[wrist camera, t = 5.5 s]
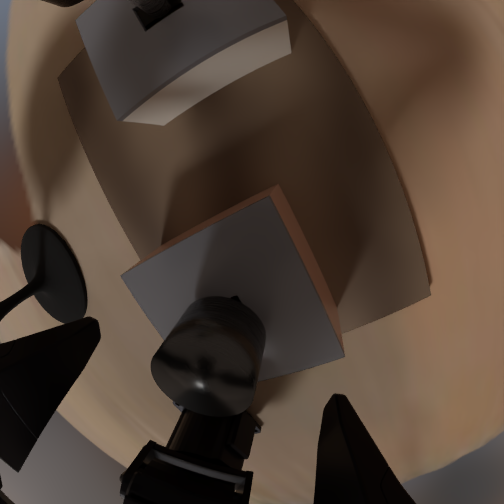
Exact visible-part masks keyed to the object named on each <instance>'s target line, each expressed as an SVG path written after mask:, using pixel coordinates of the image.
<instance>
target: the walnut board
mask: <svg viewBox="0 0 504 504" xmlns="http://www.w3.org/2000/svg"><path fill="white" fill-rule="evenodd" d="M274 1H275V3H276V4H277V5H278V6H279V7H280V8H281V10H282V11H283V12H284V13H285V15H286V16H287V23H288V30H289V38H290V45H291V54H288V55H286V56H284V57H281V58H279V59H277V60H275V61H273V62H271V63H268V64H266V65H264V66H262V67H260V68H258V69H256V70H254V71H252V72H250V73H248V74H246V75H245V76H243V77H241V78H239V79H237V80H235V81H233V82H232V83H230V84H228V85H226V86H225V87H223V88H221V89H219V90H218V91H216V92H214V93H213V94H211V95H209V96H208V97H206V98H204V99H203V100H201V101H200V102H198V103H196V104H195V105H193V106H192V107H190V108H189V109H187V110H186V111H184V112H183V113H181V114H180V115H178V116H177V117H175V118H174V119H173V120H171V121H170V122H168V123H167V124H166V125H164V126H162V125H155V124H146V123H137V122H126V121H117V120H116V118H115V116H114V113H113V111H112V109H111V107H110V105H109V102H108V100H107V98H106V96H105V94H104V91H103V89H102V87H101V84H100V82H99V80H98V77H97V75H96V73H95V70H94V68H93V65H92V63H91V60H90V58H89V55H88V53H87V50H86V48H84V49H83V50H82V51H81V52H80V53H79V54H78V55H77V56H76V57H75V58H74V60H73V61H72V62H71V63H70V64H69V65H68V66H67V67H66V69H65V70H64V71H63V72H62V73H61V74H60V76H59V77H58V81H59V84H60V87H61V90H62V93H63V96H64V99H65V102H66V105H67V107H68V110H69V113H70V116H71V118H72V121H73V123H74V126H75V129H76V131H77V134H78V136H79V139H80V141H81V143H82V146H83V148H84V150H85V153H86V155H87V157H88V160H89V162H90V164H91V166H92V168H93V171H94V173H95V175H96V177H97V179H98V181H99V183H100V186H101V188H102V190H103V192H104V194H105V196H106V198H107V200H108V202H109V204H110V206H111V208H112V209H113V211H114V213H115V215H116V217H117V219H118V221H119V223H120V225H121V226H122V228H123V230H124V232H125V234H126V235H127V237H128V239H129V241H130V243H131V244H132V246H133V248H134V249H135V251H136V253H137V255H138V256H139V258H140V260H142V259H143V258H145V257H146V256H147V255H149V254H150V253H151V252H153V251H154V250H155V249H157V248H158V247H160V246H161V245H163V244H165V243H166V242H168V241H170V240H172V239H173V238H175V237H177V236H179V235H181V234H182V233H184V232H186V231H188V230H190V229H191V228H193V227H195V226H197V225H199V224H201V223H202V222H204V221H206V220H208V219H210V218H212V217H214V216H216V215H217V214H219V213H221V212H223V211H225V210H227V209H229V208H231V207H233V206H235V205H237V204H238V203H240V202H242V201H244V200H246V199H248V198H250V197H252V196H254V195H256V194H258V193H260V192H262V191H264V190H266V189H268V188H270V187H272V186H274V185H276V184H279V186H280V188H281V190H282V192H283V193H284V195H285V197H286V199H287V201H288V203H289V205H290V207H291V209H292V211H293V213H294V215H295V217H296V219H297V221H298V224H299V226H300V228H301V230H302V232H303V234H304V236H305V238H306V240H307V242H308V244H309V246H310V249H311V251H312V253H313V255H314V257H315V259H316V261H317V264H318V266H319V268H320V270H321V272H322V275H323V277H324V279H325V281H326V284H327V286H328V288H329V290H330V293H331V295H332V297H333V300H334V302H335V304H336V306H337V310H338V316H339V322H340V328H341V334H342V333H345V332H348V331H350V330H353V329H355V328H358V327H361V326H363V325H366V324H368V323H371V322H373V321H375V320H378V319H380V318H383V317H385V316H387V315H390V314H392V313H394V312H396V311H399V310H401V309H403V308H405V307H408V306H410V305H412V304H414V303H416V302H418V301H420V300H422V299H424V298H426V297H428V296H430V295H431V292H430V287H429V282H428V277H427V272H426V267H425V263H424V259H423V255H422V251H421V247H420V243H419V239H418V236H417V232H416V229H415V225H414V222H413V219H412V216H411V212H410V209H409V206H408V203H407V200H406V198H405V195H404V192H403V189H402V186H401V184H400V181H399V178H398V176H397V173H396V171H395V168H394V166H393V163H392V161H391V158H390V156H389V154H388V151H387V149H386V147H385V145H384V142H383V140H382V138H381V136H380V134H379V132H378V130H377V128H376V126H375V123H374V121H373V119H372V118H371V116H370V114H369V112H368V110H367V108H366V106H365V104H364V102H363V100H362V99H361V97H360V95H359V93H358V91H357V90H356V88H355V86H354V85H353V83H352V81H351V80H350V78H349V76H348V75H347V73H346V71H345V70H344V68H343V67H342V65H341V63H340V62H339V60H338V59H337V57H336V56H335V54H334V53H333V51H332V50H331V49H330V47H329V46H328V44H327V43H326V41H325V40H324V39H323V37H322V36H321V35H320V33H319V32H318V31H317V29H316V28H315V27H314V25H313V24H312V23H311V21H310V20H309V19H308V18H307V16H306V15H305V14H304V13H303V12H302V10H301V9H300V8H299V7H298V6H297V4H296V3H295V2H294V1H293V0H274ZM183 6H184V4H183V3H182V2H181V3H179V4H178V5H176V6H174V7H173V8H171V9H170V10H169V12H168V13H167V14H166V15H165V16H163V17H161V18H156V19H155V20H154V21H152V22H151V23H149V24H148V25H147V26H145V27H146V29H147V30H149V29H150V28H151V27H153V26H154V25H156V24H157V23H158V22H160V21H161V20H163V19H164V18H166V17H167V16H169V15H170V14H172V13H173V12H175V11H176V10H178V9H180V8H181V7H183Z"/></svg>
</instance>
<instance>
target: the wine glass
mask: <svg viewBox="0 0 504 504" xmlns="http://www.w3.org/2000/svg"><path fill="white" fill-rule="evenodd" d="M21 260H22V266H23V270H24V274H25V277H26V280H27V282H28V284H27V285H26V286H25V287H24V288H22V289H21V290H19V291H18V292H16V293H15V294H13V295H12V296H10V297H9V298H7V299H5V300H4V301H2V302H0V321H1V320H2V319H3V318H4V316H5V315H7V314H8V313H9V312H10V311H11V310H12V309H13V308H15V307H16V306H17V305H18V304H20V303H21V302H22V301H24V300H25V299H27V298H29V297H30V296H32V295H34V296H35V298H36V299H37V301H38V302H39V303H40V305H41V306H42V307H43V308H44V309H45V310H46V311H47V312H48V313H49V314H50V315H51V316H52V317H53V318H55V319H56V320H58V321H60V322H62V323H65V324H66V323H69V322H73V321H76V320H79V319H82V318H83V317H84V315H85V313H86V309H87V293H86V288H85V283H84V280H83V276H82V274H81V271H80V268H79V266H78V264H77V262H76V259H75V257H74V256H73V254H72V252H71V250H70V249H69V247H68V246H67V244H66V243H65V242H64V240H63V239H62V238H61V237H60V236H59V235H58V234H57V233H56V232H55V231H54V230H52V229H51V228H50V227H48V226H45V225H42V224H36V225H33V226H31V227H29V228H28V229H27V231H26V232H25V234H24V236H23V239H22V244H21Z"/></svg>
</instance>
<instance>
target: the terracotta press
mask: <svg viewBox="0 0 504 504" xmlns="http://www.w3.org/2000/svg"><path fill="white" fill-rule="evenodd" d="M121 278H122V279H123V281H124V282H125V284H126V286H127V287H128V289H129V290H130V292H131V293H132V295H133V296H134V298H135V299H136V301H137V302H138V304H139V305H140V307H141V308H142V310H143V311H144V313H145V314H146V316H147V317H148V319H149V320H150V321H151V323H152V324H153V326H154V327H155V328H156V330H157V331H158V333H159V334H160V335H161V337H162V338H163V339H164V340H165V339H166V337H167V336H168V335H169V333H170V332H171V330H172V329H173V327H174V326H175V325H176V323H177V322H178V320H179V319H180V317H181V316H182V315H183V313H184V312H185V310H186V309H187V308H188V306H189V305H190V304H191V303H193V302H194V301H196V300H198V299H200V298H204V297H209V296H222V297H227V298H230V297H233V296H235V295H237V296H238V297H239V299H240V301H241V302H242V304H244V305H246V306H247V307H249V308H250V309H251V310H252V311H254V312H255V313H256V315H257V316H258V317H259V318H260V320H261V321H262V323H263V325H264V328H265V330H266V345H265V349H264V354H263V359H262V363H261V368H260V372H259V376H258V381H257V382H259V381H263V380H267V379H271V378H275V377H279V376H283V375H287V374H291V373H295V372H298V371H302V370H305V369H309V368H312V367H315V366H319V365H322V364H325V363H328V362H331V361H334V360H337V359H340V358H343V357H345V354H344V347H343V340H342V334H341V328H340V322H339V316H338V310H337V306H336V304H335V302H334V300H333V297H332V295H331V293H330V290H329V288H328V286H327V284H326V281H325V279H324V277H323V275H322V272H321V270H320V268H319V266H318V264H317V261H316V259H315V257H314V255H313V253H312V251H311V249H310V246H309V244H308V242H307V240H306V238H305V236H304V234H303V232H302V230H301V228H300V226H299V224H298V221H297V219H296V217H295V215H294V213H293V211H292V209H291V207H290V205H289V203H288V201H287V199H286V197H285V195H284V193H283V192H282V190H281V188H280V186H279V184H276V185H274V186H272V187H270V188H268V189H266V190H264V191H262V192H260V193H258V194H256V195H254V196H252V197H250V198H248V199H246V200H244V201H242V202H240V203H238V204H237V205H235V206H233V207H231V208H229V209H227V210H225V211H223V212H221V213H219V214H217V215H216V216H214V217H212V218H210V219H208V220H206V221H204V222H202V223H201V224H199V225H197V226H195V227H193V228H191V229H190V230H188V231H186V232H184V233H182V234H181V235H179V236H177V237H175V238H173V239H172V240H170V241H168V242H166V243H165V244H163V245H161V246H160V247H158V248H157V249H155V250H154V251H153V252H151V253H150V254H149V255H147V256H146V257H145V258H143V259H142V260H141V261H139V262H138V263H137V264H135V265H134V266H133V267H131V268H130V269H129V270H127V271H126V272H125V273H123V274H122V275H121Z"/></svg>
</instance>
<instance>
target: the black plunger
mask: <svg viewBox="0 0 504 504" xmlns="http://www.w3.org/2000/svg"><path fill="white" fill-rule="evenodd" d="M42 1H45V2H48V3H51V4H54V5H57V6H60V7H69V6H73V5H75V4H78V3H80V2H82V1H83V0H42ZM128 1H129V2H131V3H132V4H134V5H135V6H137V7H138V8H140V9H141V10H143V11H144V12H146V13H147V14H149V15H150V16H151V17H153V18H161V17H163V16H165V15H166V14H167V13H168V12H169V10H170V8H171V5H170V3H169V2H168V1H166V0H128Z"/></svg>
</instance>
